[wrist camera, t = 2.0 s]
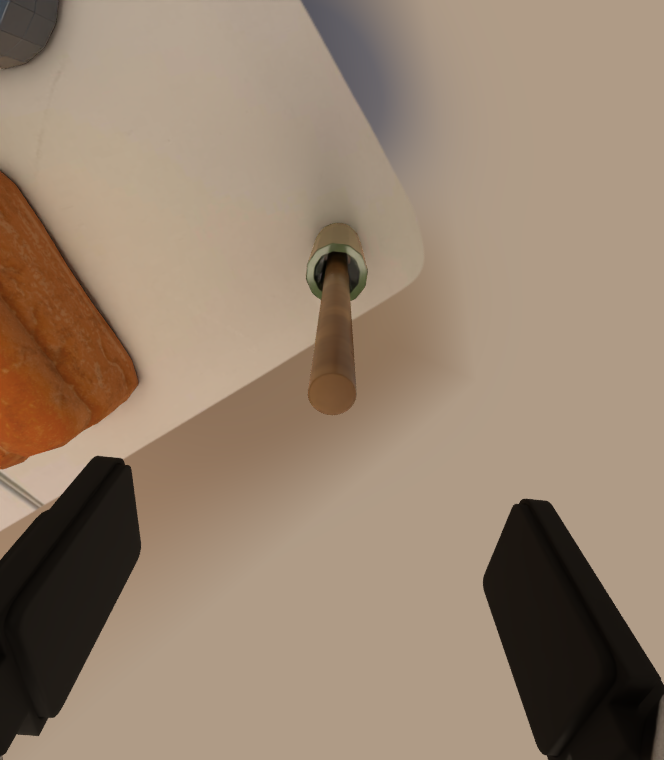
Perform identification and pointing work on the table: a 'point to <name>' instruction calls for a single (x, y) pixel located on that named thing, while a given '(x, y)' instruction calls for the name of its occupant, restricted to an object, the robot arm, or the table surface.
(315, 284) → the utensil pot
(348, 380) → the wooden dowel rod
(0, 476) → the table surface
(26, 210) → the bread
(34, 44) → the bowl
